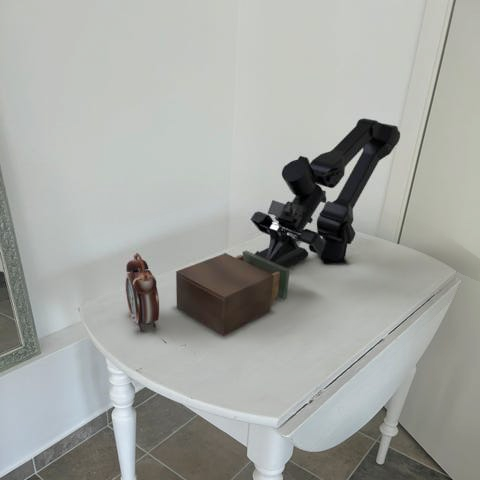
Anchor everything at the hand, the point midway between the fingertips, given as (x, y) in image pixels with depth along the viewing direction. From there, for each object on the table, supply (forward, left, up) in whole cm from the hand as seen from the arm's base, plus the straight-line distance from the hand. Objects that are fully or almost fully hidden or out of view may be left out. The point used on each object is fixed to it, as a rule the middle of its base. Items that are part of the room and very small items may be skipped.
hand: (267, 262), depth 111 cm
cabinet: (+11, +8, -7) cm, 16 cm away
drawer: (+5, +4, -6) cm, 9 cm away
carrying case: (-7, -16, -7) cm, 19 cm away
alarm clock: (+29, +12, -7) cm, 32 cm away
